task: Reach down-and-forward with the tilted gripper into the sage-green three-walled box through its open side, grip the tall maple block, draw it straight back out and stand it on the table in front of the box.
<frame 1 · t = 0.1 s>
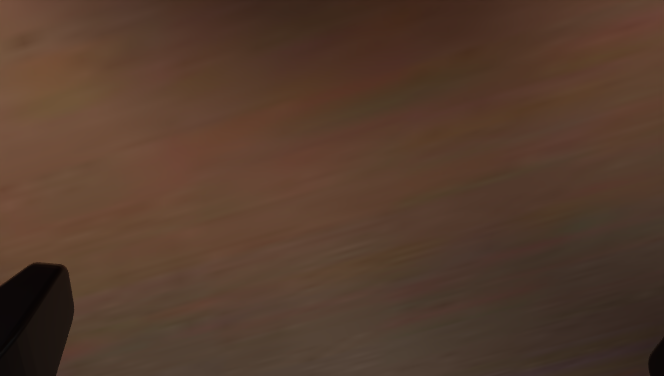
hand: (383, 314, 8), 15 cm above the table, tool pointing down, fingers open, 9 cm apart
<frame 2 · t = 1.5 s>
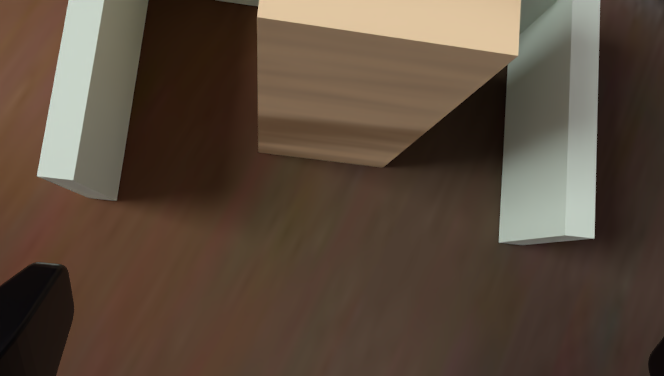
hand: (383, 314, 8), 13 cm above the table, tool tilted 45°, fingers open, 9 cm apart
open-side box: (327, 99, 23), on the table
maple block: (351, 40, 17), in the open-side box
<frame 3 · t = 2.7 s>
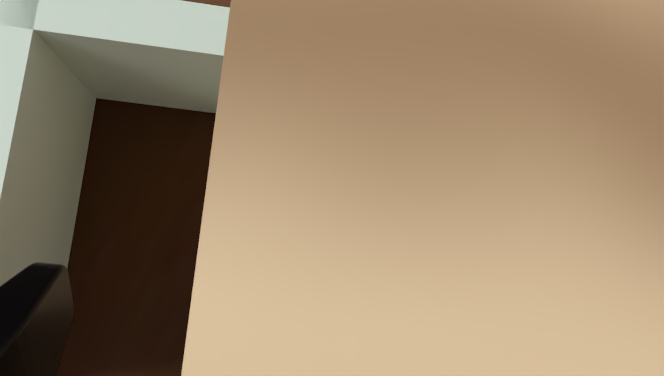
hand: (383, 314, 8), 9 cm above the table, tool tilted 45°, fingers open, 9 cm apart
open-side box: (323, 234, 18), on the table
maple block: (355, 215, 12), in the open-side box
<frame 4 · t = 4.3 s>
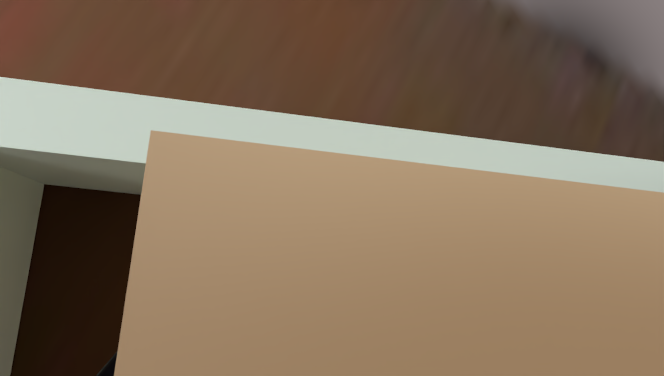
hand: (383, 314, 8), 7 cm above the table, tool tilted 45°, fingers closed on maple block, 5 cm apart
open-side box: (323, 350, 14), on the table
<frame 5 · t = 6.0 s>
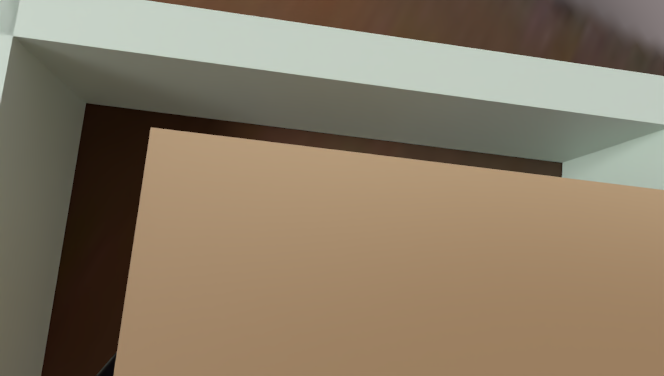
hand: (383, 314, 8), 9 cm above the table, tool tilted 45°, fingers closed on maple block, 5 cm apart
open-side box: (324, 246, 17), on the table
when the fingers open (8 cm above the table, at t = 8.0 s): maple block drops 1 cm, on the table.
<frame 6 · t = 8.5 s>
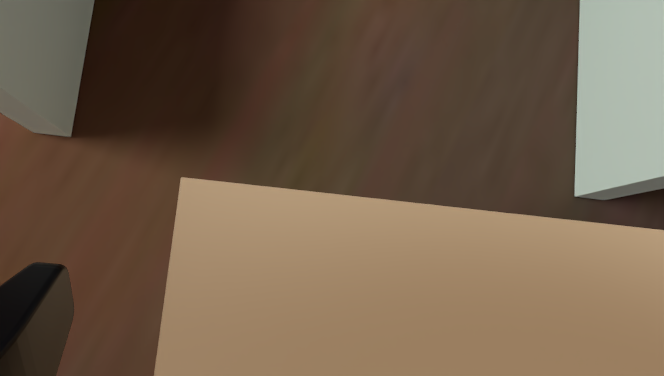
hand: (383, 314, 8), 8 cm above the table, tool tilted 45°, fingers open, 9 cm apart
open-side box: (350, 9, 17), on the table
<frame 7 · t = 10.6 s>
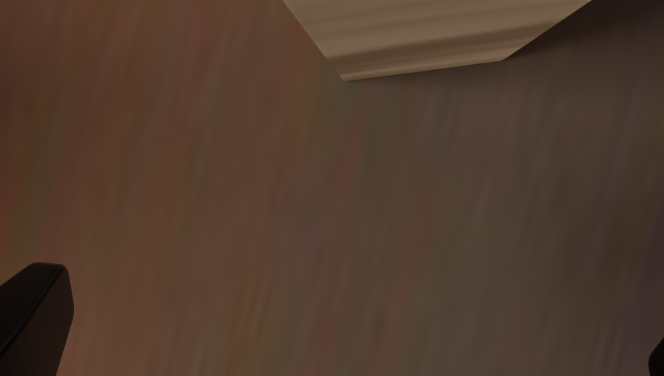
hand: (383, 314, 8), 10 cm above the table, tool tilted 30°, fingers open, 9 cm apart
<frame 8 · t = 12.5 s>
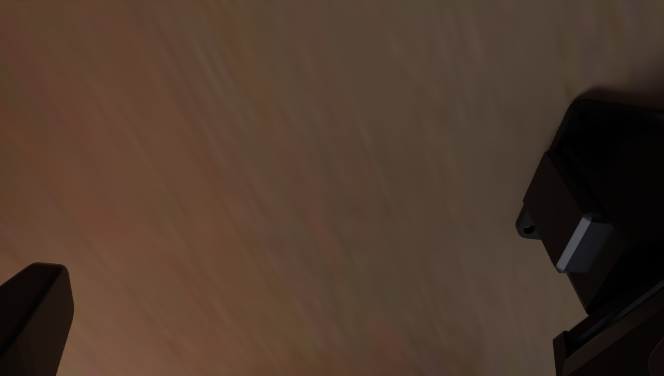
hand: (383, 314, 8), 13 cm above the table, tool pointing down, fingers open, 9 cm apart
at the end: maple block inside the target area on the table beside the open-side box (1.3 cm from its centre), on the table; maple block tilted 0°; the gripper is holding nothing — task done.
